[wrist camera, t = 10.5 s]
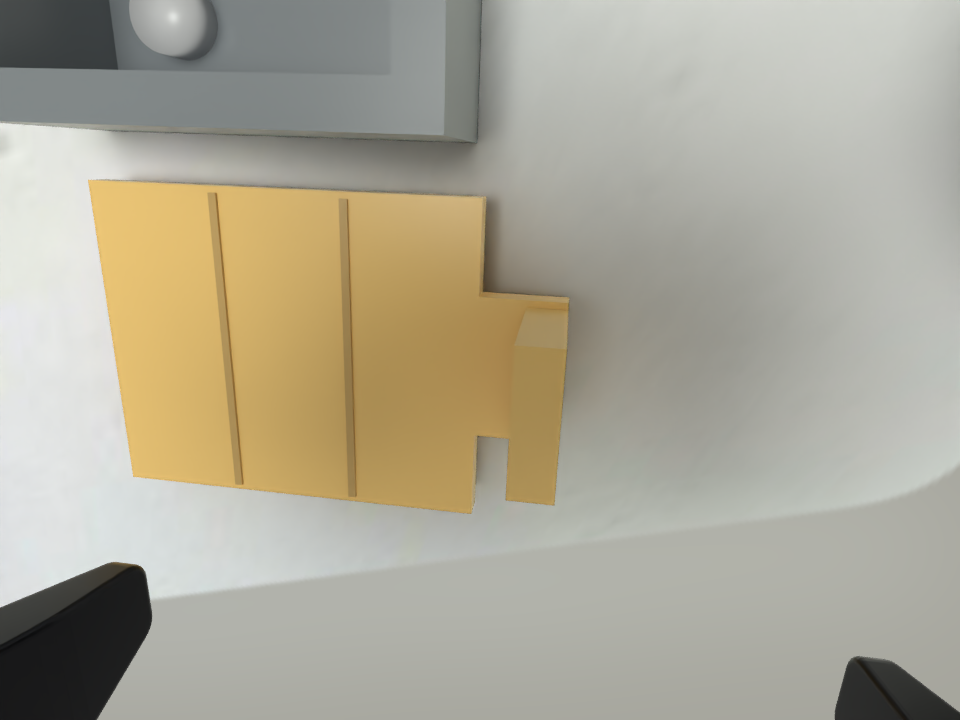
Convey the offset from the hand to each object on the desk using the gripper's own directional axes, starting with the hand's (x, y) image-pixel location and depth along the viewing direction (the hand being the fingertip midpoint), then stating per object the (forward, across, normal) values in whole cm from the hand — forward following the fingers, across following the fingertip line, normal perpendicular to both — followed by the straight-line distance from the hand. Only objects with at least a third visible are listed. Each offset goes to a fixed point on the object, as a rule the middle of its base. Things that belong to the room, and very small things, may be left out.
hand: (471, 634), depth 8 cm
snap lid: (+13, +6, 0) cm, 14 cm away
